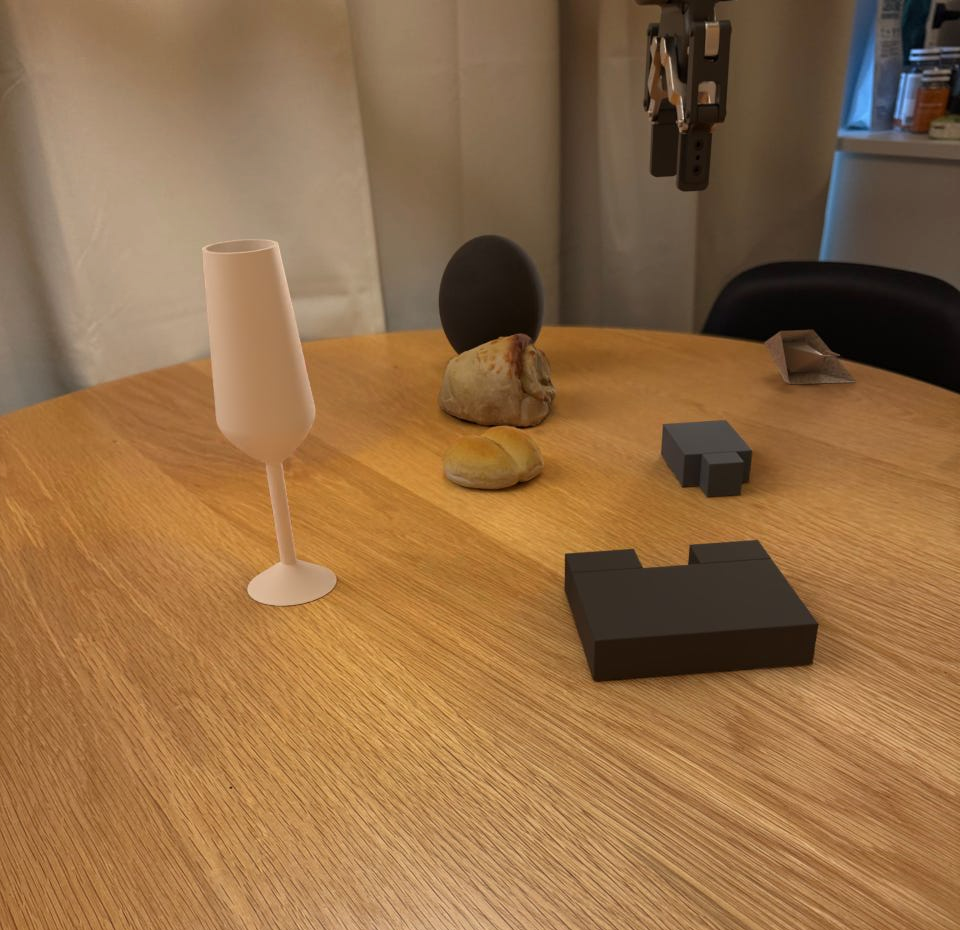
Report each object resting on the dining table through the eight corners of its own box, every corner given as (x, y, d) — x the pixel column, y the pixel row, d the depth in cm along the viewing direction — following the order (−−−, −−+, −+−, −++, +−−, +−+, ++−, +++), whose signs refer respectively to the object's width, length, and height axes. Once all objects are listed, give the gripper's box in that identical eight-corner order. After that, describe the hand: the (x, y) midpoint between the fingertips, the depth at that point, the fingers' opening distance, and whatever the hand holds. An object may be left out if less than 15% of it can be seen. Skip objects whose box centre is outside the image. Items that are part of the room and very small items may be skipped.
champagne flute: (355, 582, 75) (315, 243, 63) (280, 615, 71) (222, 261, 59) (302, 555, 80) (255, 232, 67) (229, 585, 76) (165, 249, 63)
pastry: (573, 423, 103) (574, 344, 99) (455, 437, 101) (451, 357, 97) (534, 383, 115) (533, 312, 111) (427, 396, 113) (422, 323, 108)
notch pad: (753, 576, 74) (758, 539, 72) (812, 664, 63) (819, 623, 62) (564, 590, 73) (564, 553, 71) (593, 681, 63) (594, 640, 61)
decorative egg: (452, 388, 115) (444, 249, 107) (434, 359, 125) (426, 230, 117) (557, 377, 116) (557, 240, 109) (531, 349, 127) (529, 222, 119)
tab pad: (723, 450, 95) (726, 419, 94) (758, 493, 86) (762, 460, 85) (660, 454, 95) (662, 423, 93) (689, 498, 86) (691, 465, 84)
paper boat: (830, 354, 116) (889, 351, 108) (808, 406, 117) (866, 407, 108) (754, 306, 111) (811, 299, 103) (732, 361, 111) (786, 359, 103)
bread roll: (428, 472, 93) (425, 430, 91) (510, 451, 97) (509, 410, 95) (473, 501, 87) (471, 457, 85) (559, 477, 91) (558, 435, 89)
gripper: (783, -93, 62) (755, 193, 70) (717, -73, 74) (700, 169, 82) (662, -88, 61) (648, 199, 70) (616, -69, 73) (609, 174, 82)
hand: (677, 183), depth 76 cm, fingers open, 8 cm apart
